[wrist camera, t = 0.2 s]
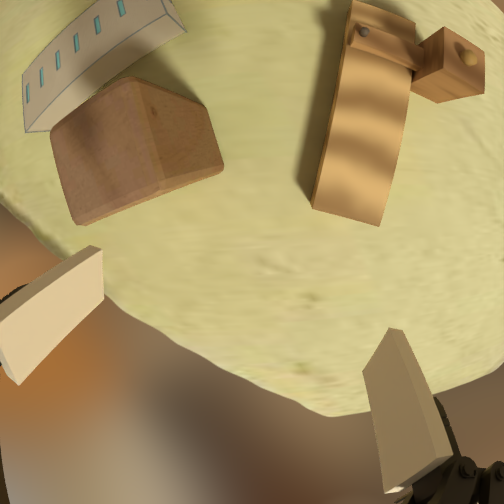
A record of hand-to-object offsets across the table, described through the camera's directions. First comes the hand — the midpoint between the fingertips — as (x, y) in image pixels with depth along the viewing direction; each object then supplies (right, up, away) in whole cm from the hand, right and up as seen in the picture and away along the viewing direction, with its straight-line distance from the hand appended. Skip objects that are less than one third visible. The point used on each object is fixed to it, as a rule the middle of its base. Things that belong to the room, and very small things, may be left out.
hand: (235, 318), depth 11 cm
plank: (+16, +22, +19) cm, 33 cm away
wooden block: (-9, +17, +25) cm, 31 cm away
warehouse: (-25, +36, +20) cm, 49 cm away
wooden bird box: (+20, +28, +16) cm, 39 cm away
